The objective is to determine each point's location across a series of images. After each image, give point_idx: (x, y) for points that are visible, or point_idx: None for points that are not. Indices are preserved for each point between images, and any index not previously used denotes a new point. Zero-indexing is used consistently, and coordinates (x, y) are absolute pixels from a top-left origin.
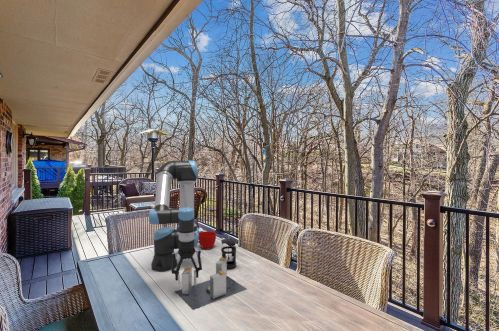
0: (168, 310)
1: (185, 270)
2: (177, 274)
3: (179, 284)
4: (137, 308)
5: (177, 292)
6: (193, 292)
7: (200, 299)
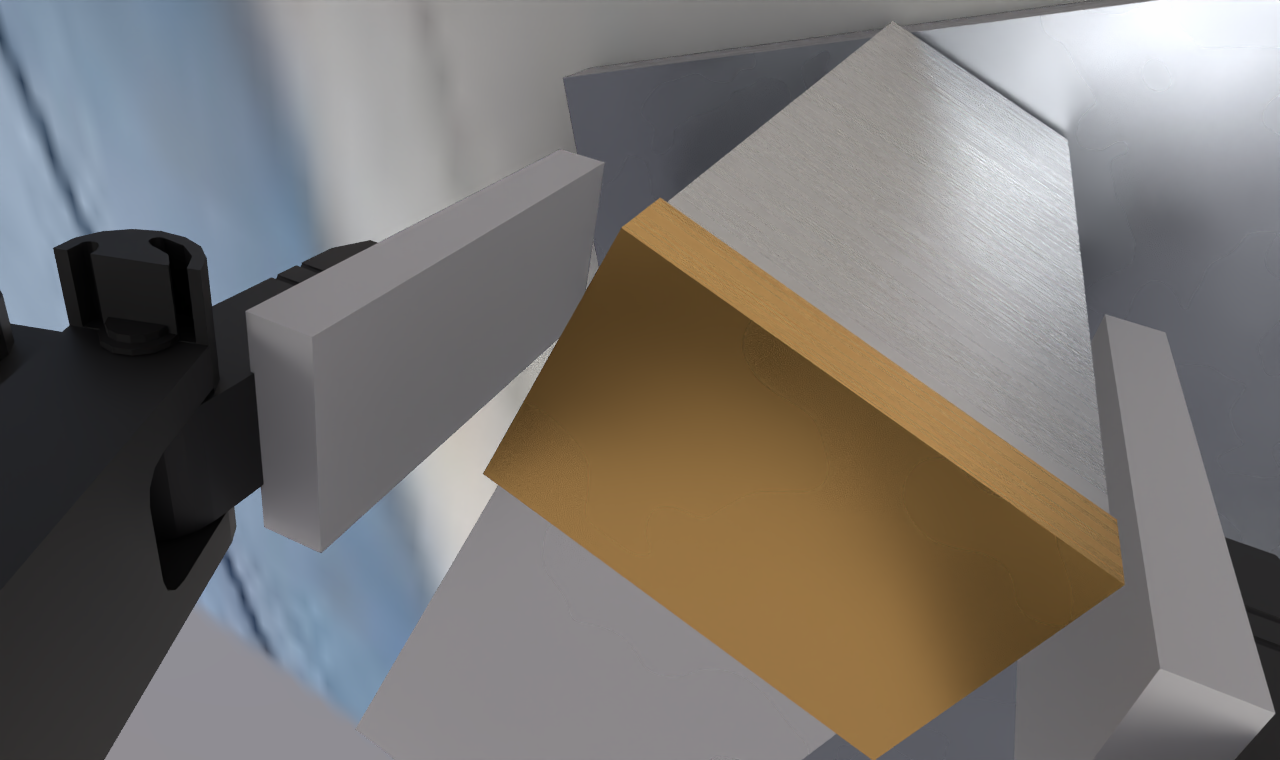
0: (424, 524)
1: (567, 557)
2: (254, 473)
3: (534, 353)
4: (42, 207)
5: (614, 169)
6: None
7: (952, 714)
